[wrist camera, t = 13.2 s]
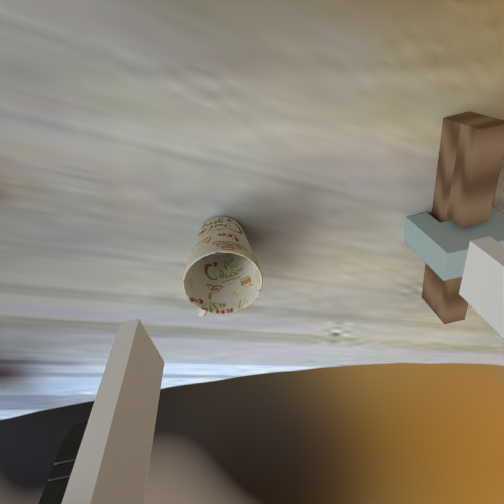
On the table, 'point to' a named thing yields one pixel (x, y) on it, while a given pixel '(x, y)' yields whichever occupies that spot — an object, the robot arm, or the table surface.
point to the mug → (221, 269)
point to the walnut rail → (463, 194)
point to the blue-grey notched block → (449, 240)
